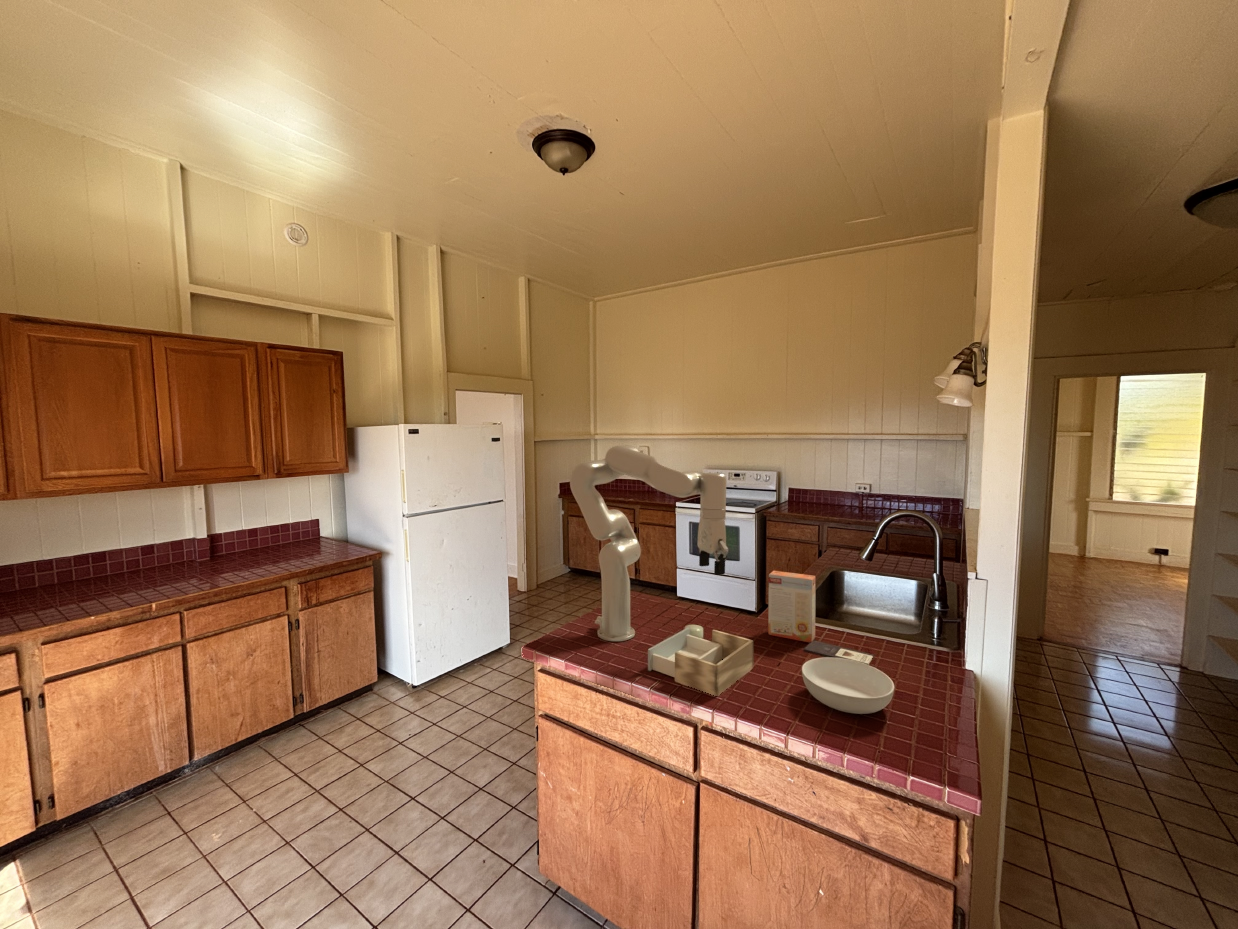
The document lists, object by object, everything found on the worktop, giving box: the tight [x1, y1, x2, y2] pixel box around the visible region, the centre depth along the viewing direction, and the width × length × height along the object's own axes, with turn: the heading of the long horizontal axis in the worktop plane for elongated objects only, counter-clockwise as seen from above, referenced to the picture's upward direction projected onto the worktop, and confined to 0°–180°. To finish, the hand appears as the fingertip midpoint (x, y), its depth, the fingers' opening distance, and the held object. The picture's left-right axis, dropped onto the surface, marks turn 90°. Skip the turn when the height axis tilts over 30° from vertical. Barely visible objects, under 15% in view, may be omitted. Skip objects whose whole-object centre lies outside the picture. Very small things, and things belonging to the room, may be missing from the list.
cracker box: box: [767, 570, 816, 644], centre depth 164 cm, size 14×6×21 cm, turn 58°
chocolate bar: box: [803, 639, 875, 666], centre depth 151 cm, size 9×1×18 cm
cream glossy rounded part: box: [684, 624, 704, 639], centre depth 161 cm, size 6×6×4 cm
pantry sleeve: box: [674, 629, 754, 697], centre depth 138 cm, size 13×21×8 cm, turn 140°
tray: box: [647, 628, 723, 678], centre depth 143 cm, size 13×21×6 cm, turn 140°
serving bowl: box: [801, 656, 895, 715], centre depth 123 cm, size 21×21×7 cm
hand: (711, 570), depth 149 cm, fingers open, 9 cm apart
